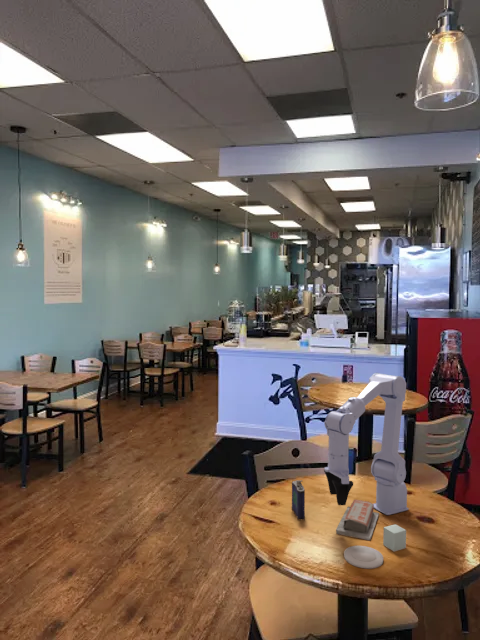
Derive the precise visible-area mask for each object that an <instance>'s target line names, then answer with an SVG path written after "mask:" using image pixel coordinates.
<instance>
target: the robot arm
mask: <svg viewBox="0 0 480 640" xmlns="http://www.w3.org/2000/svg"><path fill="white" fill-rule="evenodd" d="M406 393H407V382H406V380H405V379H404V377H402V376H401V375H392V374H391V375H390V374H385V373H380V372H375V373H373V374H372V375H371V376H370V377H369V378H368V384H367V385H366V386H365V388H363V390H362V391H361V392H360V393H359V394H358V395H357V396H352V397H349V398H348V399H347V400H346V402H344V403H343V404H342V405H341V406H340V407H339V408H338V409H337V410H332V411H330V412H329V413H327V415H326V416H325V420H324V422H323V423H324V428H325V429H326V435H327V436H328V456H327V457H328V460H327V466H325V467H323V468H324V469H323V472H324V474H325V476H326V481H327V484H328V489H329V490H328V491H329V494H330V496H331V495H332V496H334V495H336V502H337V506H346V504H347V500H348V496H349V493H350V491H351V489H352V488H353V486H354V482H353V480H350V476H349V473H350V469H349V441H350V440H349V436H350V433H351V432H352V430H354V429H353V428H354V426H355V424H356V421H357V420H358V419H359V418H360V417H361V416H362V415H363V414H364V413H365V412H366V406H367V405H368V404H369V403H371V402H372V401H373V400H375V398H377V397H378V396H379V397H380V398H382V400H383V401H384V403H385V407H384V418H383V428H382V438H381V439H382V440H381V448H380V451H378V452H376V453H375V454H374V456H373V459H372V463H371V465H370V472H371V475H372V476H373V477H374V481H376V489H375V490H376V491H375V492H376V495H375V498H376V499H375V503H372V504H373V505H374V509H375V510H376V511H379V512H380V513H382V514H384V515H385V516H390V515H394V514H398V513H402V512H406V511H408V510H409V507H407V506H408V504H407V503H408V489H407V485H406V483H405V482H404V481H405V479H406V475H407V471H406V460H405V459H404V458H403V457H402V456H401V454H400V453H399V444H400V436H401V435H400V433H401V423H402V414H403V405H404V404H403V403H404V402H405V400H406Z"/></svg>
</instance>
